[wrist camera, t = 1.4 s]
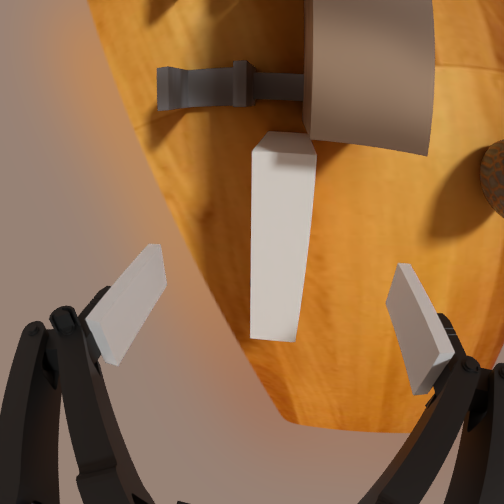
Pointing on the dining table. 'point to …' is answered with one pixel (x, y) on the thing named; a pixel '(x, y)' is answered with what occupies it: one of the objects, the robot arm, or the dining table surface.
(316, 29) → the cabinet
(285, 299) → the door
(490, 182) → the vase
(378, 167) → the dining table surface
